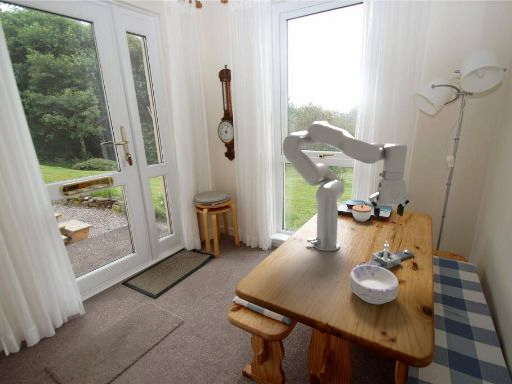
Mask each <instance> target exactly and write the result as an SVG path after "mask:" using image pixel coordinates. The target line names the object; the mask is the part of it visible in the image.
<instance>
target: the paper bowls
mask: <svg viewBox="0 0 512 384" xmlns="http://www.w3.org/2000/svg"><path fill="white" fill-rule="evenodd" d="M355 266H356V265H355ZM355 266H354V267H353V268H352V269H351V270H350V275H349V286H350V289H351V291H352V292H353V293H354V295H356V296H357V297H359V299H361V300H362V301H364V302H366V303H368V304H372V305H383V304H385V303H390V302H391V301H394V300H395V299H396V298H397V296H398V291H399V283H400V282H399V278H397V276H396V275H395V274H394V273H393V272H392V271H391V270H389V269H386V268H384V267H379V266H375V265H360V266H356V267H355Z"/></svg>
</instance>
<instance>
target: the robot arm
mask: <svg viewBox="0 0 512 384" xmlns="http://www.w3.org/2000/svg"><path fill="white" fill-rule="evenodd" d="M319 143H321V144H323V145H326V146H327V147H328V146H329V147H330V148H333V149H335V150H338V151H339V152H341V153H342V154H344V155H346V156H347V157H349V158H351V159H353V160H355V161H359V162H361V163H365V164H367V165H368V164H369V165H371V164H375V163H378V162H379V161H383V166H382V170H381V171H382V172H380V173H379V177H381V178H380V179H379V182H378V186H377V190H376V193H373V194H372V195H370V196H368V201H370V204H371V205H372V206H373V214H374V217H377V218H380V214H381V208H380V207H381V206H382V205H397V206H396V207H397V208H396V209H397V210H396V214H397V215H398V216H399V217H403V215H404V212H405V207H406V206H407V205H408V204H409V203H410V201H411V199H412V197H413V196H412V195H411V194H409V193H407V180H406V178H404V175H405V169H406V163H407V162H406V161H407V155H408V154H407V153H408V147H407V145H406V144H403V143H387V142H386V143H384V142H379V141H378V142H377V141H376V142H371V143H368V142H365V141H363V140H361V139H358V138H356V137H353V136H352V135H351V134H350V133H349V132H348V130H346V129H342V128H340V127H337V126H334V125H333V124H332V123H330V121H327V120H321V121H320V120H319V121H314V122H312V123H311V124H310V125H309V127H308V128H306V129H305V130H302V131H295V132H291V133H289V134H288V135H286V136H285V138H284V139H283V142H282V152H283V155H284V156H285V159H286V160H287V161H288V163H289V164H290V165H291V166H292V167H293V168H294V169H295V170H296V172H297V173H298V174H299V175H300V177H301V178H302V179H303V180H304V181H305V182H306V184H308V185H309V186H310V187H311V186H312V187H315V186H318V185H319V187H318V189H317V190H316V192H315V201H316V216H317V217H316V234H315V235H314V237H313V238H306V241H307V243H310V244H311V245H313V247H314V248H315V249H317V250H319V251H322V252H335V251H337V250H339V249H340V248H341V243H340V242H339V241H338V220H339V218H338V217H339V214H338V213H339V210H338V200H339V199H340V198H342V196H343V195H344V193H345V186H344V184H343V182H342V181H341V180H340V178H339V177H338V176H337V175H336V174H335V173H334V171H332V170H331V168H330V167H329V166H328V165H326V164H324V163H315V162H314V161H312V159H311V158H310V156H308V154H306V153H305V152H304V151H302V149H307V148H309V147H313V146H314V145H317V144H319Z"/></svg>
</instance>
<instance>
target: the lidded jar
mask: <svg viewBox="0 0 512 384" xmlns="http://www.w3.org/2000/svg"><path fill="white" fill-rule="evenodd" d="M371 214H372V207H371V206H368V205H366V204H365V205H364V204H356V205H353V206H352V216H353V218H354V219H355V220H356V221H358V222H361V223H363V222H367V221H368V220H369V219H370V217H371Z"/></svg>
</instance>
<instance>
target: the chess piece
mask: <svg viewBox="0 0 512 384" xmlns="http://www.w3.org/2000/svg"><path fill="white" fill-rule="evenodd" d="M383 247H384V249H383V250H384V251H385V252H384V256H383V257H382V259H384V260H386V261H389V260H390V259H388V258H387V252H388V251H389V252H390V250H389V247H390V245H389V241H388V240H385V243H384V244H383Z"/></svg>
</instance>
